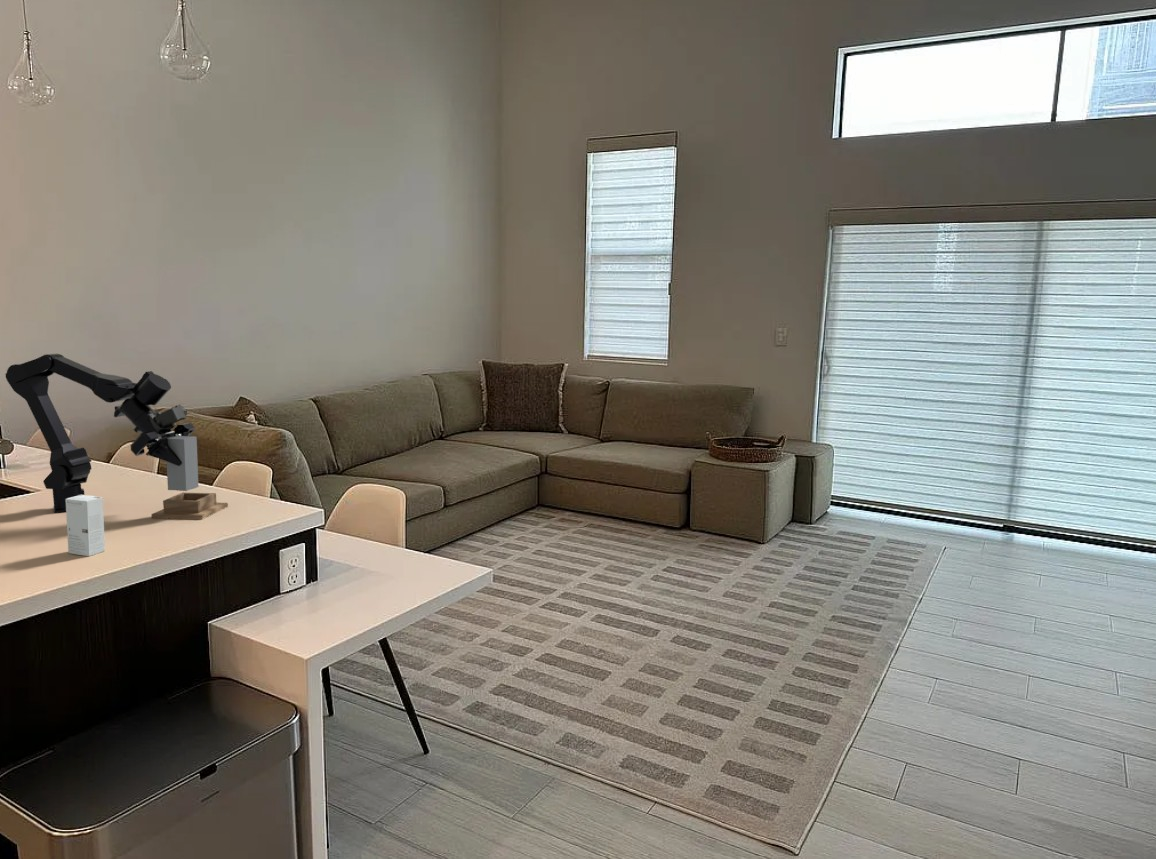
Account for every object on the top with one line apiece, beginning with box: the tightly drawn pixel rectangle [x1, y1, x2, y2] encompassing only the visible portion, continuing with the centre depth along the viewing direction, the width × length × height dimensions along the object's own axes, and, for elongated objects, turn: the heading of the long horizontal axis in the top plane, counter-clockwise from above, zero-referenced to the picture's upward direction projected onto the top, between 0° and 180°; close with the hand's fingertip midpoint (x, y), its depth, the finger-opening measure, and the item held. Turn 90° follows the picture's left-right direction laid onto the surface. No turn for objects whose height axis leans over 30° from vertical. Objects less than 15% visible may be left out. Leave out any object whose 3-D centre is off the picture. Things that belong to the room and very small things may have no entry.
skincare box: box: [65, 494, 106, 557], centre depth 173 cm, size 6×4×12 cm
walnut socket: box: [151, 492, 229, 520], centre depth 207 cm, size 13×13×4 cm
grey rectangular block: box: [166, 435, 199, 492], centre depth 203 cm, size 5×5×13 cm
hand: (187, 462), depth 203 cm, fingers closed on grey rectangular block, 5 cm apart
